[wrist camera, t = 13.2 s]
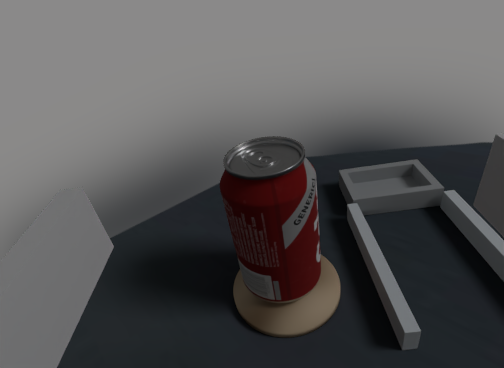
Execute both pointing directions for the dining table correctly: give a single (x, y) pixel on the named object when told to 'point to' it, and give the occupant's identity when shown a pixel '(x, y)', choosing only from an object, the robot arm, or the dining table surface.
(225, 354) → the dining table surface
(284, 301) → the soda can
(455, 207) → the channel
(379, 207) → the tray
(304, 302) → the cork coaster
